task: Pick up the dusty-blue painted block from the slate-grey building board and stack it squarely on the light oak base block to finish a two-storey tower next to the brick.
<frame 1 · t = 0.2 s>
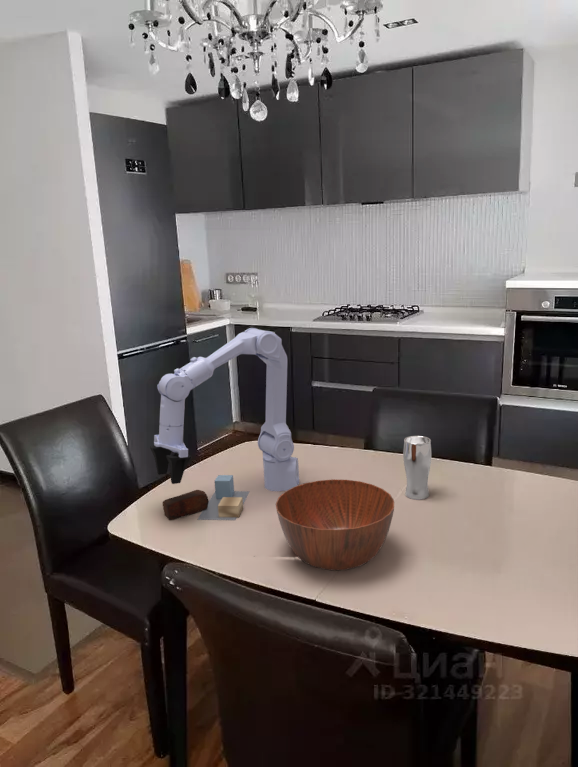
hand: (168, 478, 146), 11 cm above the table, tool pointing down, fingers open, 7 cm apart
bowl: (336, 552, 129), on the table
brick: (187, 514, 150), on the table, touching board
blue block: (225, 495, 159), point 1 cm above the table, touching board
beer glass: (417, 495, 155), on the table
board: (225, 507, 153), on the table
oak block: (231, 512, 149), point 1 cm above the table, touching board
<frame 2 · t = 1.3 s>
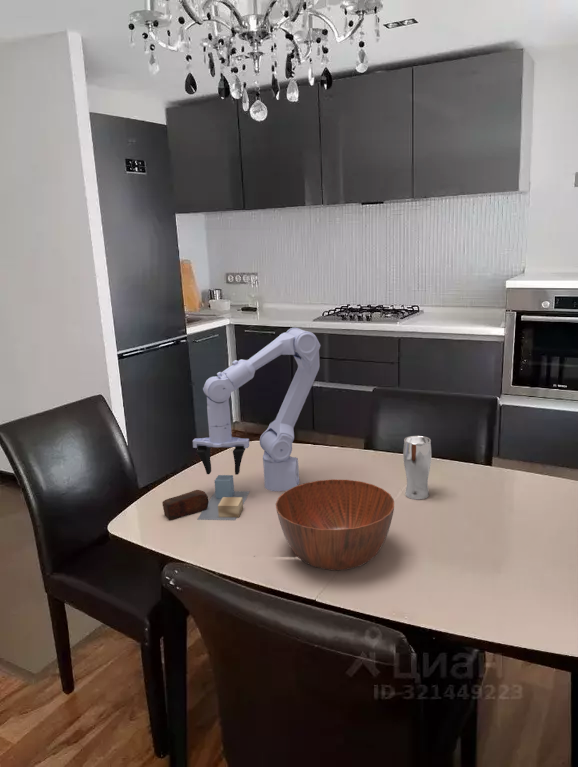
hand: (223, 473, 157), 7 cm above the table, tool pointing down, fingers open, 7 cm apart
nothing on the table moved.
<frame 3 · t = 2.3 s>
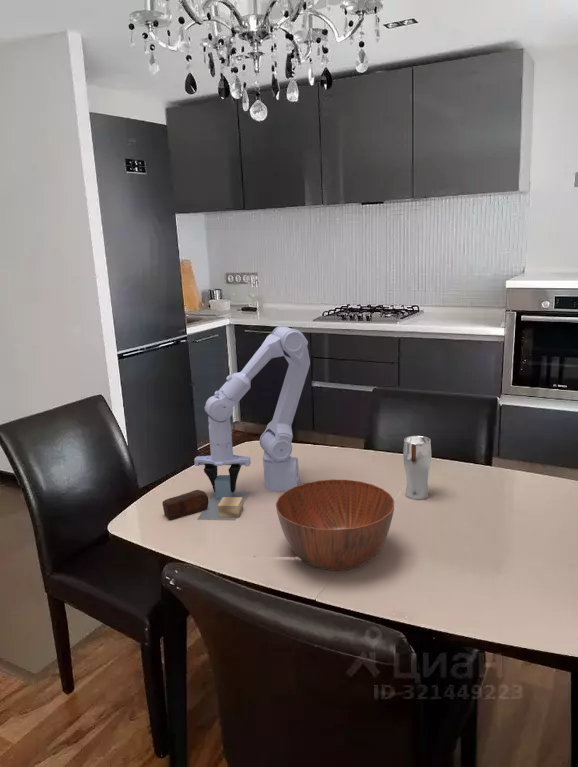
hand: (224, 490, 158), 2 cm above the table, tool pointing down, fingers closed on blue block, 4 cm apart
blue block: (225, 495, 159), point 1 cm above the table, touching board, gripper
everything else where it was.
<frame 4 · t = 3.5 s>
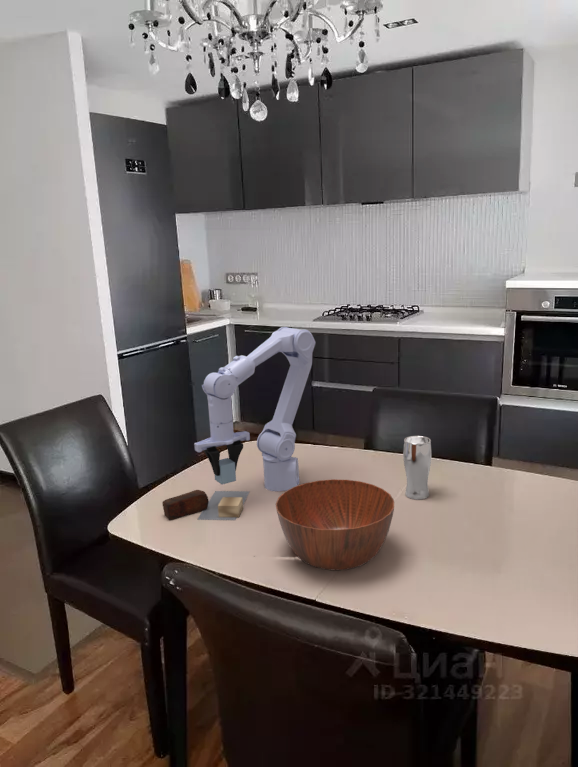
hand: (224, 472, 152), 9 cm above the table, tool pointing down, fingers closed on blue block, 4 cm apart
blue block: (225, 480, 153), point 7 cm above the table, touching gripper
everything else where it was.
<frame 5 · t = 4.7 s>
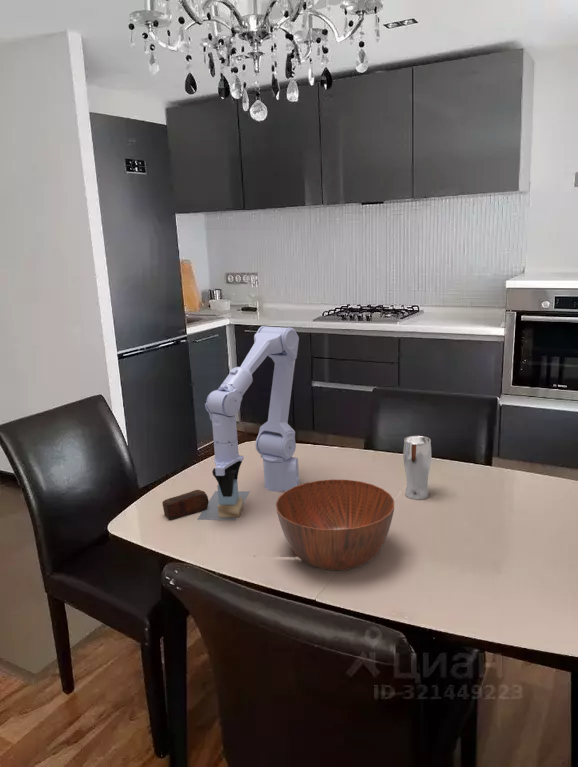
hand: (229, 492, 147), 6 cm above the table, tool pointing down, fingers closed on blue block, 4 cm apart
blue block: (228, 501, 148), point 4 cm above the table, touching gripper, oak block
oak block: (231, 512, 149), point 1 cm above the table, touching blue block, board
everything else where it was.
when the fingers open (6 cm above the table, at t = 4.9 s): blue block stays where it is, resting on oak block.
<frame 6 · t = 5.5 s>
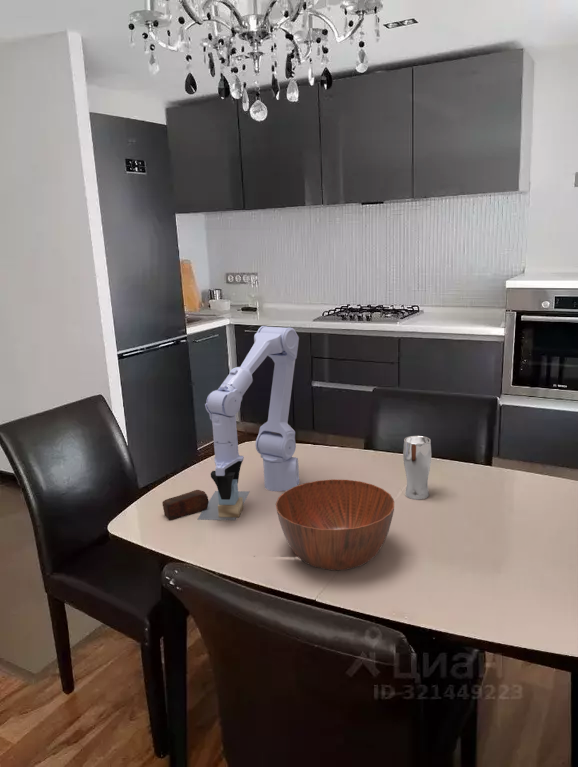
hand: (229, 492, 147), 6 cm above the table, tool pointing down, fingers open, 7 cm apart
blue block: (228, 501, 148), point 4 cm above the table, touching oak block
everything else where it was.
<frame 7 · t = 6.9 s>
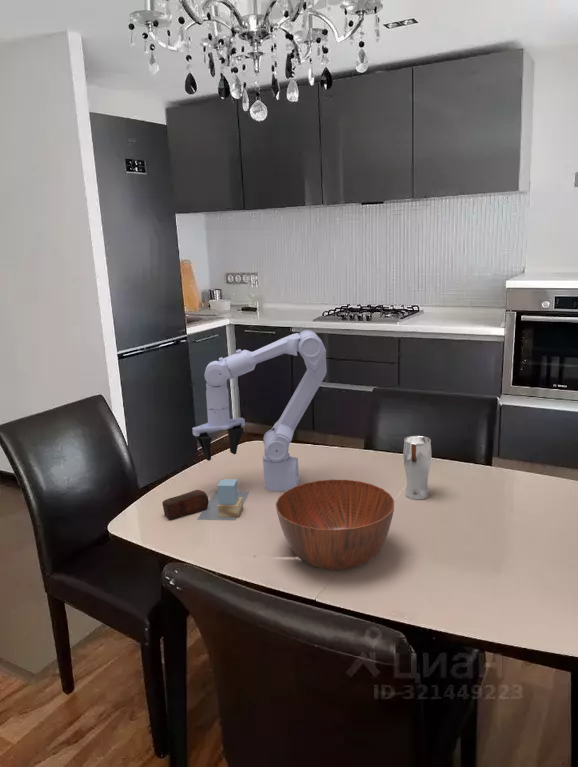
hand: (220, 456, 160), 10 cm above the table, tool pointing down, fingers open, 7 cm apart
nothing on the table moved.
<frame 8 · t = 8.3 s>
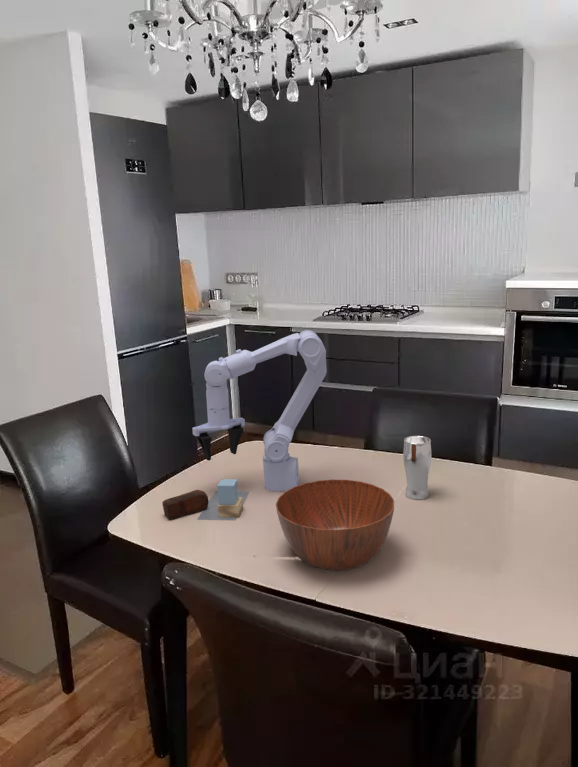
hand: (220, 456, 160), 10 cm above the table, tool pointing down, fingers open, 7 cm apart
nothing on the table moved.
at the end: blue block 0.3 cm off-centre on the oak block, point 3.0 cm above the oak block's base; blue block tilted 0°; the gripper is holding nothing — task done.
